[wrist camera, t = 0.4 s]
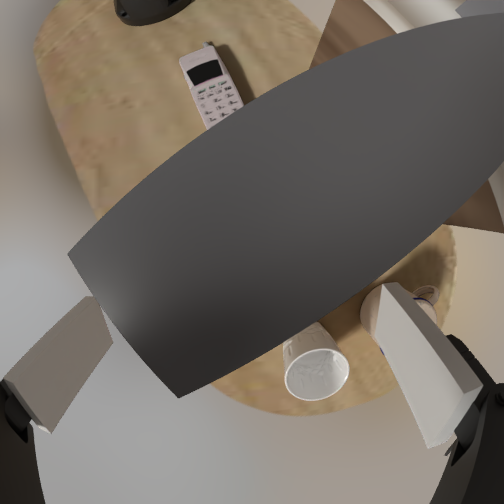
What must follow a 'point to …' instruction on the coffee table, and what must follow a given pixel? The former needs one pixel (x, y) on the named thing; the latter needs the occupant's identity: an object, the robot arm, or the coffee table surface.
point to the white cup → (314, 364)
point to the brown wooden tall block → (390, 23)
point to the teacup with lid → (373, 301)
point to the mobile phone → (210, 85)
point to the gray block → (300, 198)
